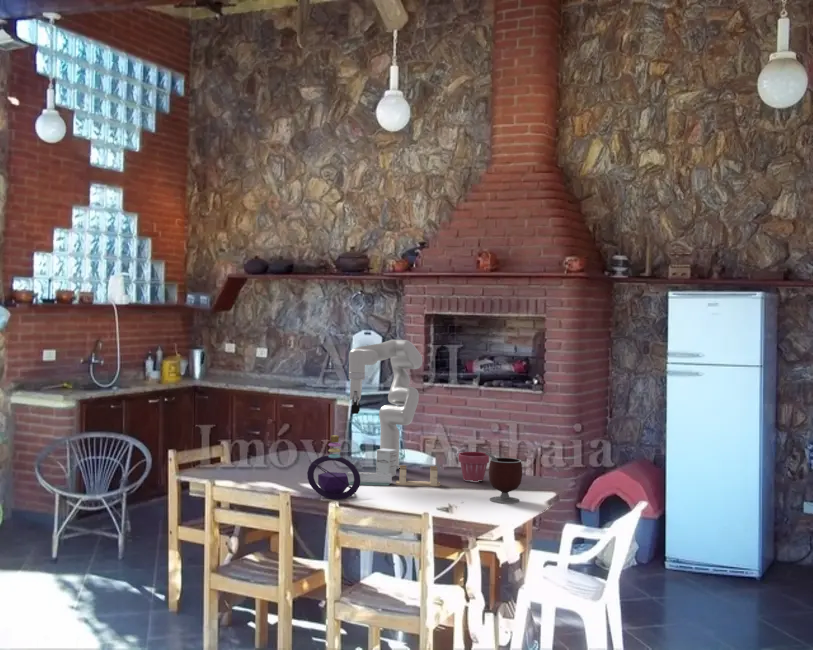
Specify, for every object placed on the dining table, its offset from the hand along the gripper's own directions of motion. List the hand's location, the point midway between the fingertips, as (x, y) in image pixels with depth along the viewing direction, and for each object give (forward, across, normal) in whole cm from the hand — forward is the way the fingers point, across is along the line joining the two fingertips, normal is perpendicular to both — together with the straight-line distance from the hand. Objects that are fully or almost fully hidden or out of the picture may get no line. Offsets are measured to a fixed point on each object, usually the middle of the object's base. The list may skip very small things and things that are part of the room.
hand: (355, 412), depth 413 cm
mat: (+30, +16, +8) cm, 35 cm away
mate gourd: (+31, +46, +65) cm, 85 cm away
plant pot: (+31, +2, +56) cm, 64 cm away
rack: (+30, +15, +30) cm, 45 cm away
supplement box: (+31, -5, +15) cm, 34 cm away
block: (+30, +15, +8) cm, 34 cm away
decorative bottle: (+31, +44, -6) cm, 54 cm away
